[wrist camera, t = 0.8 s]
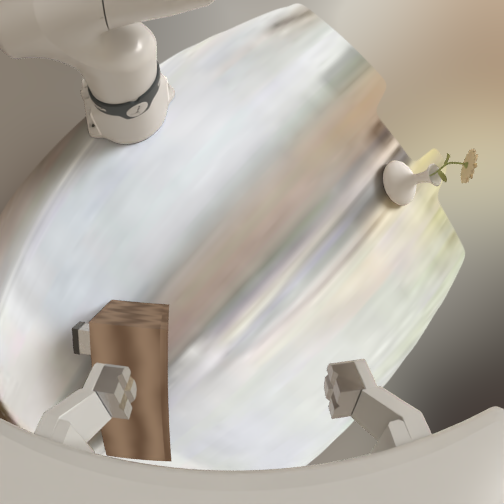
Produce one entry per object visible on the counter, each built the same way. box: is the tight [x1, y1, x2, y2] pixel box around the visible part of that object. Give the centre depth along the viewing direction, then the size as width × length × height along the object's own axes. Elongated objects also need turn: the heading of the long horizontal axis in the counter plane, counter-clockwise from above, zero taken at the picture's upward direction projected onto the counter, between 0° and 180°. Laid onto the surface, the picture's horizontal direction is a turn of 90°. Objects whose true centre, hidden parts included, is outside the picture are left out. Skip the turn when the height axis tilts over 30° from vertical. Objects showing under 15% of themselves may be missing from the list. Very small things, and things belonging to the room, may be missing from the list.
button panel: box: [89, 300, 171, 461], centre depth 42 cm, size 11×24×16 cm, turn 175°
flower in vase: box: [383, 149, 478, 205], centre depth 53 cm, size 13×11×25 cm
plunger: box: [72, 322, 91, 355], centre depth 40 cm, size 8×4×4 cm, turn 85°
